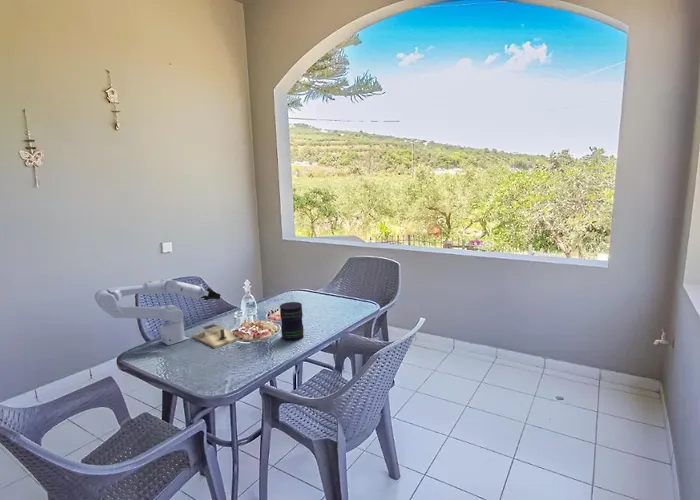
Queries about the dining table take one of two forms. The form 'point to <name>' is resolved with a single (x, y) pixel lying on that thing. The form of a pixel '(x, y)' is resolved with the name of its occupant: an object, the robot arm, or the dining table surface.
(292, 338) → the storage jar
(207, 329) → the grey tin box
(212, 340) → the board
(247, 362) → the dining table surface
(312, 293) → the dining table surface
